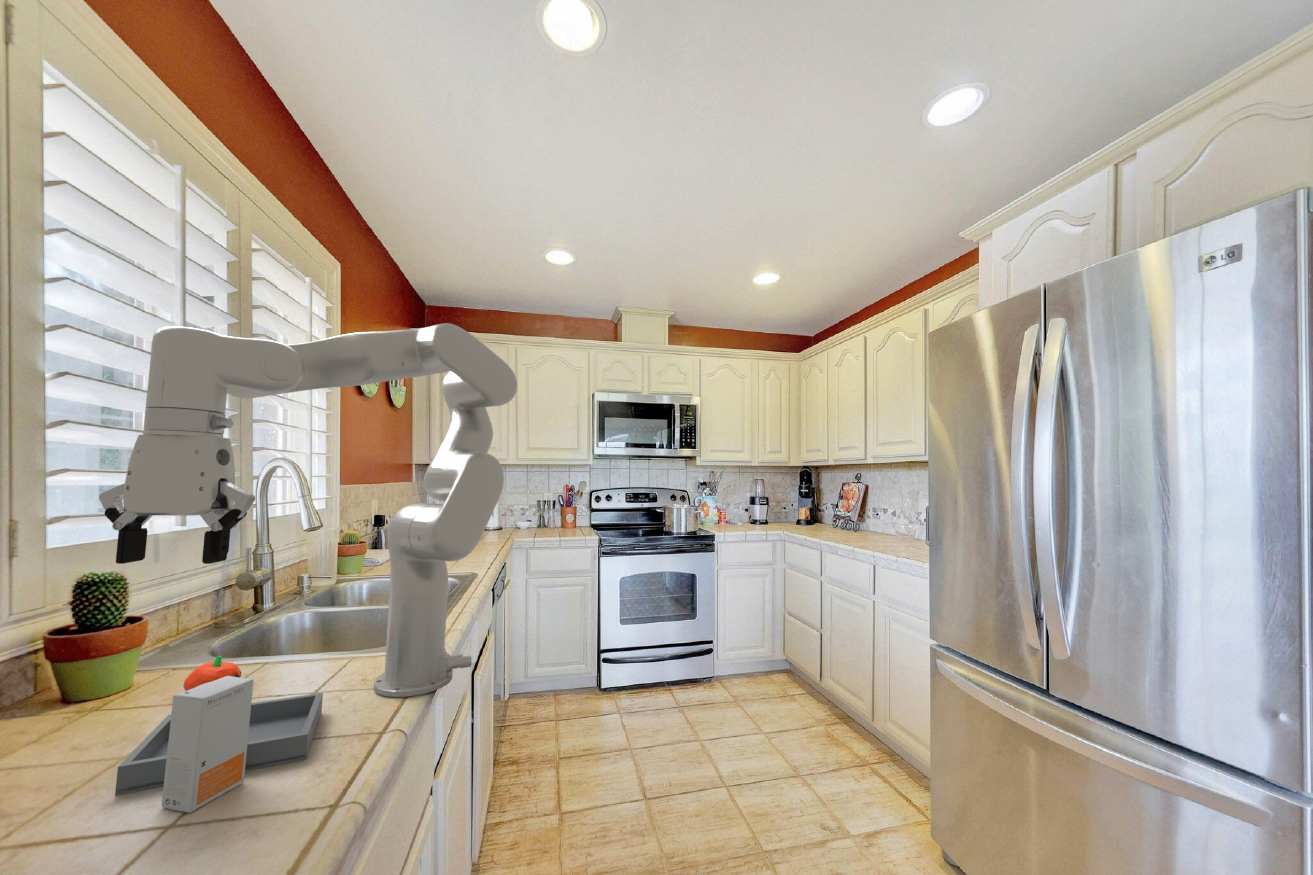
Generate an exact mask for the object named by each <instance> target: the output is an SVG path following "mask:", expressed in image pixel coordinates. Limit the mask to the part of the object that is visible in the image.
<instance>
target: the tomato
mask: <svg viewBox="0 0 1313 875" xmlns="http://www.w3.org/2000/svg"><path fill="white" fill-rule="evenodd" d="M226 676H232V677H239V678H242V670H241V669H240V667H238V665H237V664H235V663H233V662H228V661H227V662H226V661H222V656H221V655H217V656H216V657H215V660H214V661H209V662H206V663H203V664H200V665H198V666H197V667H196V668H195V669H194V670H192V672H190V673H189V675H188V676H187V677H186V678H185V679H184V681H183V689H184V690H185V691H188V690H190V689H193V688H195V687H197V686H199V685H202V684H205V683H208V682H212V681H215V680H218V679H220V678H223V677H226ZM185 691H184V692H185Z"/></svg>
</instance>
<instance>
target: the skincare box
mask: <svg viewBox="0 0 1313 875" xmlns="http://www.w3.org/2000/svg"><path fill="white" fill-rule="evenodd" d="M253 690H254V679H253V678H245V677H244V678H243V677H241V678H239V677H232V676H226V677H223V678H220V679H218V680H215V681H212V682H208V683H205V684H202V685H199V686H197V687H195V688H193V689H190V690H188V691H182V692H180V693H176V694H173V696H172V706H171V713H170V715H171V723H170V732H169V741H168V750H167V759H166V769H165V778H164V786H163V787H162V788H163V789H162V795H161V797H162V798H161V808H162V809H167V810H173V811H179V812H182V813H183V812H184V813H188V814H190V813H193V812H194V811H196V810H197V809H199V808H201V807H202V806H204V805H206V804H208V803H210V802H211V801H213V800H215V799H217V798H219V797H220V796H222V795H223V794H225V793H228V792H229V791H230V790H233V789H235V788H236V787H239V786H241V785H242V784H243V783H244V782H245V773H246V771H245V764H246V753H247V743H248V733H249V722H250V713H251V703H253V702H252V699H253Z"/></svg>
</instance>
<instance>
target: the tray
mask: <svg viewBox="0 0 1313 875" xmlns="http://www.w3.org/2000/svg"><path fill="white" fill-rule="evenodd" d="M323 697H324V693H323V692H318V693H311V694H304V695H299V696H298V695H297V696H290V697H285V698H276V699H270V700H263V701H256V702H251V713H250V722H249V733H248V743H247V753H246V764H245V772H247V771H250V770H252V771H253V770H257V769H263V768H267V767H272V766H273V767H274V766H277V765H283V764H287V763H288V764H289V763H293V762H297V761H304V760H307V757H308V755H309V751H310V749H311V746H312V743H313V740H314V737H315V734H316V730H317V728H318V725H319V721H320V720H321V717H322V712H323V710H322V708H323ZM170 723H171V714H168V715H167V716H165V718H164V719H163V720H161V722H160V723H159V724H158V725H157V726H156V727H155V728H154V729H153V730H152V731H151V732H150V733H149V734H148V735H147V736H146V737H145V738H144V739H143V740H142V742H141V743H140V744H138V746H136V748H135V749H134V750H133V751H132V752H130V753H129V755H128V756H127V757H126V758H125V759H124V760H123V761H122V762H121V763H119V765H118V766H117V772H116V783H115V791H114V796H115V797H116V796H121V795H124V794H130V793H131V794H132V793H135V792H136V793H137V792H140V791H141V792H142V791H146V790H152V789H157V788H163V787H164V778H165V769H166V759H167V750H168V741H169V732H170Z"/></svg>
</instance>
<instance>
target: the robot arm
mask: <svg viewBox="0 0 1313 875" xmlns="http://www.w3.org/2000/svg"><path fill="white" fill-rule="evenodd" d="M442 373H446V375H445V376H444V378H443V379H442V383H441V384H442V385H441V391H442V395H443V399H444V401H445V403H446V406H447V408H448V412H449V416H450V417H449V418H450V422H449V423H450V424H449V427H448V430H447V432H446V434H445V436H444V439H443V440H442V442H441V444H440V446H439V447H438V449H437V451H436V453H435V455H434V456H433V458H432V460H431V462H430V464H429V466H428V467H427V469H426V471H425V474H424V477H423V488H424V491H425V492H426V493H427V495H428V496H429V497H431V498H432V499H434V500H437V501H440V502H441V501H442V502H444V503H443V504H440V503H430V502H429V503H427V502H419V503H412V504H409V505H406V506H404V507H401V509H398V511H397V512H396V513H395V514H394V515H393V516H392V517H391V520H390V522H389V524H388V527H387V537H386V538H387V548H388V553H389V555H388V556H389V563H390V564H389V565H390V568H389V569H390V571H389V572H390V578H389V579H390V581H389V582H390V583H389V596H388V611H387V627H386V628H387V629H386V644H385V645H386V646H385V661H384V662H385V663H384V672H383V673H382V674H380V675H378V676H377V677H376V678H375V679H374V681H373V690H374V691H375V693H377V694H378V695H381V696H384V697H390V698H391V697H392V698H406V697H407V698H408V697H415V696H419V695H426V694H429V693H432V692H436V691H437V690H439V689H442V688H444V687H445V686H447V685H448V684H449V683H450V682H451V681H452V680H453V670H454V669H465V668H471V667H472V655H466V656H465V655H464V654H463V653H459V654H455V655H454V654H453V655H450V654H447V649H446V648H445V647H446V629H447V608H448V592H449V573H448V567H447V563H446V562H455V561H460V560H463V559H464V558H467V556H469V555H470V554H471V553H472V552H473V551H474V550H475V548H476V547H477V545H478V544H479V542H480V540H481V538H482V536H483V534H484V532H485V530H486V528H487V526H488V523H489V521H490V520H491V517H492V516H493V513H494V510H495V508H496V506H497V504H498V503H499V500H500V497H501V495H502V492H503V489H504V488H503V487H504V483H505V475H504V469H503V467H502V464H501V462H500V461H499V460H498V459H497V458H496V457H495V456H494V455H491V454H490V453H488V452H489V450H490V448H491V445H492V442H493V438H494V437H493V436H494V428H493V426H492V422H491V419H490V416H489V413H488V410H487V408H490V407H499V406H503V405H506V404H508V403H509V402H511V401H512V400H513V399H514V397H515V396H516V394H517V390H518V380H517V377H516V374H515V373H514V370H513V369H512V368H511V367H510V366H509V365H508V364H507V362H506V361H505V360H503V359H502V358H501V357H500V356H498V355H497V354H496V353H495V352H493V351H492V350H491V349H490V348H489V347H488V346H487V345H486V344H484V343H483V342H482V341H480V339H478V338H477V337H475V336H474V335H472V334H471V333H470V332H468V331H467V330H465V329H464V328H462V327H460V326H458V325H456V324H453V323H448V322H445V323H444V322H443V323H440V324H438V323H437V324H435V325H434V324H433V325H431V326H426V327H419V328H410V329H396V330H383V331H381V330H379V331H362V332H361V331H360V332H359V331H358V332H352V333H345V334H341V335H339V334H338V335H336V336H332V337H327V338H325V339H319V340H313V341H309V342H303V343H296V344H294V343H293V344H284V343H283V342H279V341H276V340H269V339H261V338H260V339H259V338H247V337H236V336H228V335H222V334H219V333H216V332H213V331H210V330H206V329H200V328H195V327H188V326H178V325H177V326H175V325H173V326H164V327H160V328H158V329H157V330H156V331H155V332H154V334H153V336H152V341H151V350H150V360H149V371H148V380H147V381H148V382H147V389H146V390H147V391H146V400H145V409H144V420H143V430H142V434H138V436H137V438H136V441H135V443H134V446H133V448H132V451H131V454H130V458H129V461H128V465H127V466H128V467H127V470H126V474H125V475H126V476H125V481H124V483H122V484H119V485H117V486H114V487H113V488H111V489H108V490H106V491H104V492H102V493H100V494H99V495H98V498H99V501H100V503H101V506H102V508H103V509H104V510H105V511H104V516H105V517H106V518H107V519H108V520H109V521H110V522H111V523H112V525H111V526H112V529H113V530H114V531H118V534H117V543H116V544H117V545H116V553H115V554H116V555H115V563H116V564H117V565H118V564H119V565H120V564H121V565H122V564H123V565H124V564H129V563H134V562H140V561H143V560H145V558H146V552H147V551H146V550H147V540H148V532H149V531H148V528H147V527H143V526H145V524H146V523H147V522H148V521H149V520H150V519H151V518H152V517H153V516H182V517H183V516H184V517H185V516H191V517H193V516H200V517H201V518H202V520H203V521H204V522H205V524H206V526H208V528H209V529H210V530H206V531H205V532H204V536H203V547H202V548H203V549H202V558H201V560H202V561H201V562H202V563H203V564H204V565H210V564H211V565H212V564H215V563H220V562H224V561H226V560H227V559H228V553H229V550H230V539H231V530H234V529H235V528H236V527H237V524H239V523H240V521H242V520H243V519H244V518H245V517H247V515H248V511H249V510H250V509H251V507H252V505H253V504H254V503H255V500H256V496H255V495H254V494H252V493H250V492H249V491H246V490H245V489H243V488H241V487H239V486H236V473H235V472H236V471H235V468H236V467H235V458H234V457H235V456H234V451H233V446H232V442H231V438H226V437H224V434H225V430H226V429H231V428H232V427H233V425H234V421H233V419H232V418H231V417H226V408H227V397H228V395H230V396H232V397H236V398H239V399H246V400H247V399H255V398H262V397H269V396H276V395H282V394H283V395H284V394H290V393H296V392H303V391H311V390H321V389H327V388H349V387H358V386H366V385H373V384H378V383H385V382H391V381H399V380H405V379H412V378H419V377H426V376H432V375H437V374H442Z"/></svg>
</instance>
